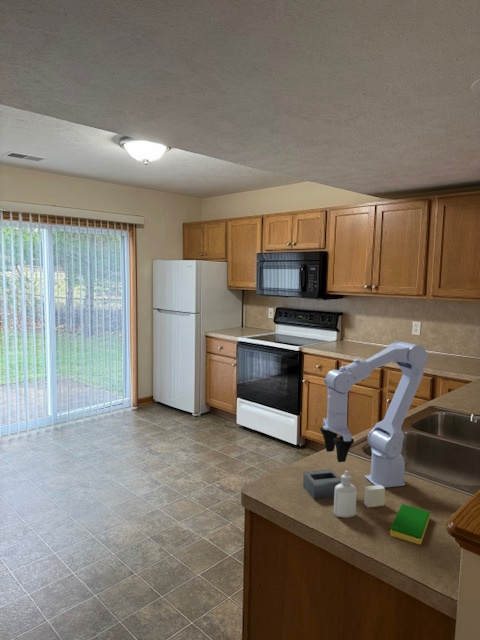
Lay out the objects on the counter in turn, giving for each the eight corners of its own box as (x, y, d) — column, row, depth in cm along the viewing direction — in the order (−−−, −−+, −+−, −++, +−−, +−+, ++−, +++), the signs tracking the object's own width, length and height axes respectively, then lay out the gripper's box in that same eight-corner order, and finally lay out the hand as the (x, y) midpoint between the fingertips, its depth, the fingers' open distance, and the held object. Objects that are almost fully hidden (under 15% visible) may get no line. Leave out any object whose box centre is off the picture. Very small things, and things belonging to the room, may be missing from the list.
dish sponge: (389, 536, 108) (390, 527, 108) (401, 511, 120) (402, 503, 120) (420, 546, 104) (421, 537, 104) (429, 519, 116) (430, 511, 116)
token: (380, 502, 124) (381, 485, 124) (384, 505, 122) (385, 488, 122) (364, 503, 123) (365, 486, 123) (367, 507, 121) (368, 490, 121)
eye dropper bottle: (353, 521, 114) (356, 476, 113) (332, 516, 116) (334, 472, 115) (356, 513, 118) (358, 469, 117) (335, 508, 120) (337, 466, 119)
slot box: (330, 483, 135) (331, 469, 134) (342, 496, 127) (343, 480, 126) (303, 486, 132) (303, 471, 132) (313, 499, 125) (314, 483, 124)
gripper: (314, 405, 135) (313, 447, 136) (335, 420, 121) (333, 467, 122) (335, 403, 136) (334, 446, 138) (358, 418, 122) (357, 465, 124)
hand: (335, 456), depth 130 cm, fingers open, 7 cm apart
